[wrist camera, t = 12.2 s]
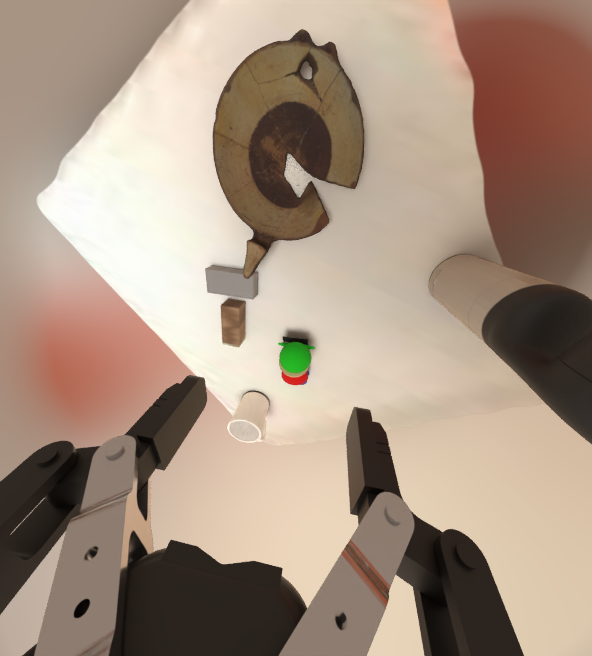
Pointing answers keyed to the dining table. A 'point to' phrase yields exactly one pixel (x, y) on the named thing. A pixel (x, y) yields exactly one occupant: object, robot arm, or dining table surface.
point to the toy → (295, 360)
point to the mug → (250, 418)
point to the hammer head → (231, 282)
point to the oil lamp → (285, 139)
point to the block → (233, 322)
